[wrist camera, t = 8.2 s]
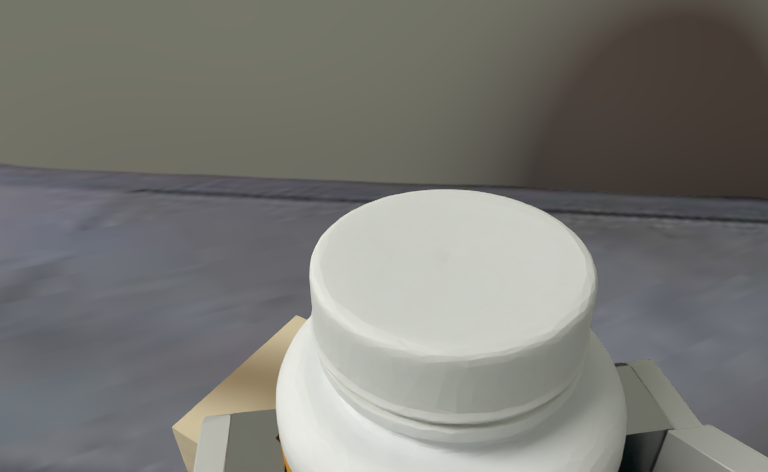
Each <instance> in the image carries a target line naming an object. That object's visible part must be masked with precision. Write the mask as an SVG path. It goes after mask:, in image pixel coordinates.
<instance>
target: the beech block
mask: <svg viewBox="0 0 768 472" xmlns="http://www.w3.org/2000/svg"><path fill="white" fill-rule="evenodd" d="M306 321H307V320H306V319H304V318H301V317H299V316H297V315H296V316H295V317H294V318H293V319H292V320H291V321H290V322H289V323H287V324H286V325H285V326H284V327H283V328H282V329H281V330H280V331H279V332H277V333H276V334H275V335H274V336H273V337H272V338H271V339H270V340H268V341H267V342H266V343H265V344H264V345H263V346H262V347H261V348H260V349H258V350H257V351H256V352H255V353H254V354H253V355H252V356H251V357H250V358H248V359H247V360H246V361H245V362H244V363H243V364H242V365H241V366H239V367H238V368H237V369H236V370H235V371H234V372H233V373H232V374H231V375H229V376H228V377H227V378H226V379H225V380H224V381H223V382H222V383H221V384H219V385H218V386H217V387H216V388H215V389H214V390H213V391H212V392H211V393H209V394H208V395H207V396H206V397H205V398H204V399H203V400H202V401H200V402H199V403H198V404H197V405H196V406H195V407H194V408H193V409H192V410H190V411H189V412H188V413H187V414H186V415H185V416H184V417H183V418H182V419H180V420H179V421H178V422H177V423H176V424H175V425H174V426H173V427H172V429H173V432H174V435H175V438H176V441H177V443H178V446H179V449H180V452H181V454H182V457H183V460H184V463H185V466H186V468H187V471H188V472H193V470H194V464H195V458H196V452H197V446H198V440H199V434H200V428H201V424H202V422H203V420H204V418H205V417H207V416H216V415H224V414H233V413H241V412H250V411H260V410H269V409H276V387H277V381H278V376H279V372H280V368H281V364H282V362H283V360H284V357H285V355H286V352H287V350H288V348H289V346H290V344H291V342H292V340H293V338H294V337H295V335H296V334H297V332H298V331H299V330H300V328H301V327H302V325H303V324H304V323H305V322H306Z"/></svg>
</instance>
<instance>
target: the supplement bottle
mask: <svg viewBox="0 0 768 472" xmlns="http://www.w3.org/2000/svg"><path fill="white" fill-rule="evenodd" d="M597 287H598V281H597V272H596V268H595V265H594V262H593V259H592V256H591V254H590V252H589V251H588V249H587V248H586V246H585V245H584V244H583V242H582V241H581V240H580V239H579V238H578V237H577V235H576V234H575V233H574V232H572V231H571V230H570V229H569V228H568V227H566V226H565V225H564V224H563V223H561V222H560V221H559V220H557V219H556V218H554V217H552V216H551V215H549V214H547V213H545V212H544V211H542V210H539V209H537V208H535V207H533V206H530V205H527V204H525V203H523V202H520V201H517V200H513V199H510V198H507V197H503V196H498V195H494V194H489V193H483V192H478V191H468V190H424V191H415V192H409V193H403V194H397V195H392V196H388V197H385V198H382V199H379V200H376V201H373V202H370V203H367V204H365V205H363V206H361V207H359V208H357V209H355V210H353V211H351V212H349V213H348V214H346V215H345V216H343V217H341V218H340V219H339V220H338V221H337V222H335V223H334V224H333V225H332V226H331V227H330V228H329V229H328V230H327V231H326V232H325V233H324V234H323V235H322V236H321V238H320V240H319V241H318V243H317V245H316V247H315V249H314V252H313V254H312V257H311V264H310V289H311V300H312V315H311V316H310V317H309V319H308V320H307V321H306V322H305V323H304V324H303V325H302V327H301V328H300V330H299V331H298V332H297V334H296V335H295V337H294V338H293V340H292V342H291V344H290V346H289V348H288V350H287V352H286V355H285V357H284V360H283V362H282V364H281V368H280V372H279V376H278V381H277V387H276V415H277V424H278V429H279V438H280V443H281V447H282V452H283V456H284V461H285V465H286V469H287V472H618V470H619V467H620V464H621V460H622V457H623V449H624V444H625V438H626V432H627V409H626V402H625V395H624V391H623V386H622V383H621V381H620V378H619V375H618V372H617V370H616V367H615V365H614V363H613V361H612V359H611V357H610V355H609V353H608V352H607V350H606V348H605V347H604V345H603V344H602V343H601V341H600V340H599V339H598V337H597V336H596V335H595V334H594V332H593V331H592V330H591V329H590V324H591V318H592V314H593V310H594V306H595V301H596V296H597Z"/></svg>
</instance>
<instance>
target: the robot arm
mask: <svg viewBox="0 0 768 472" xmlns="http://www.w3.org/2000/svg"><path fill="white" fill-rule="evenodd" d="M614 365H615V367H616V370H617V372H618V375H619V378H620V381H621V383H622V386H623V391H624V395H625V402H626V409H627V432H626V438H625V444H624V449H623V457H622V460H621V464H620V467H619V470H618V472H768V458H767V457H766V456H764V455H762V454H760V453H759V452H757V451H755V450H754V449H752V448H750V447H748V446H747V445H745V444H743V443H741V442H740V441H738V440H736V439H734V438H733V437H731V436H729V435H727V434H726V433H724V432H722V431H721V430H719V429H717V428H715V427H714V426H712V425H702V424H701V422H700V421H699V420H698V418H697V417H696V416H695V415H694V413H693V412H692V411H691V409H690V408H689V407H688V405H687V404H686V403H685V401H684V400H683V399H682V397H681V396H680V395H679V394H678V392H677V391H676V390H675V388H674V387H673V386H672V384H671V383H670V382H669V380H668V379H667V378H666V377H665V375H664V374H663V373H662V371H661V370H660V369H659V367H658V366H657V365H656V363H654V362H653V361H651V360H650V359H648V360H640V361H632V362H625V363H615V364H614ZM193 472H287V469H286V465H285V461H284V456H283V452H282V447H281V443H280V438H279V429H278V424H277V415H276V409H269V410H260V411H250V412H241V413H233V414H224V415H216V416H207V417H205V418H204V420H203V422H202V424H201V428H200V434H199V440H198V446H197V452H196V458H195V464H194V470H193Z"/></svg>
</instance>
